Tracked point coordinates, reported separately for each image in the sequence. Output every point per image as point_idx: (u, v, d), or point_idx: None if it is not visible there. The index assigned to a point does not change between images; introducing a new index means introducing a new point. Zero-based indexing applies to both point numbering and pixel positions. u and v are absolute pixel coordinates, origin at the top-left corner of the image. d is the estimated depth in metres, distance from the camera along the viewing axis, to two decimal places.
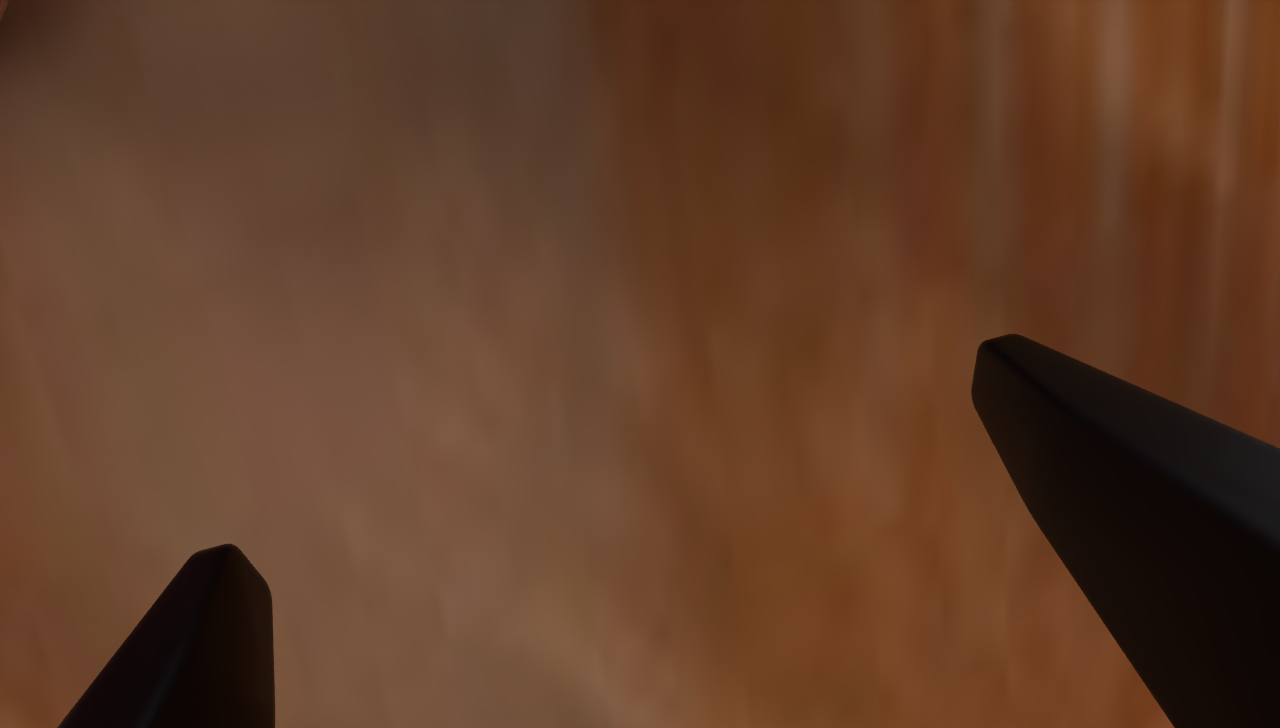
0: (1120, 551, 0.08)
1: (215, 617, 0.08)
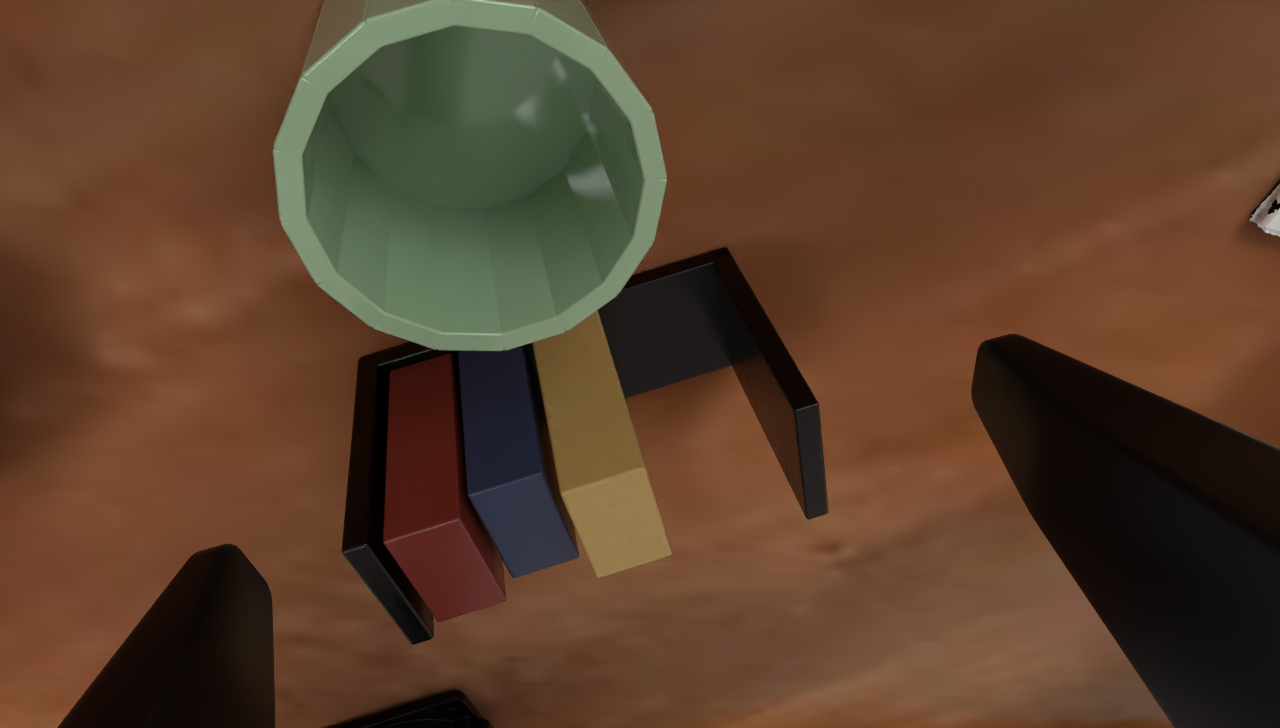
0: (1120, 551, 0.08)
1: (215, 617, 0.08)
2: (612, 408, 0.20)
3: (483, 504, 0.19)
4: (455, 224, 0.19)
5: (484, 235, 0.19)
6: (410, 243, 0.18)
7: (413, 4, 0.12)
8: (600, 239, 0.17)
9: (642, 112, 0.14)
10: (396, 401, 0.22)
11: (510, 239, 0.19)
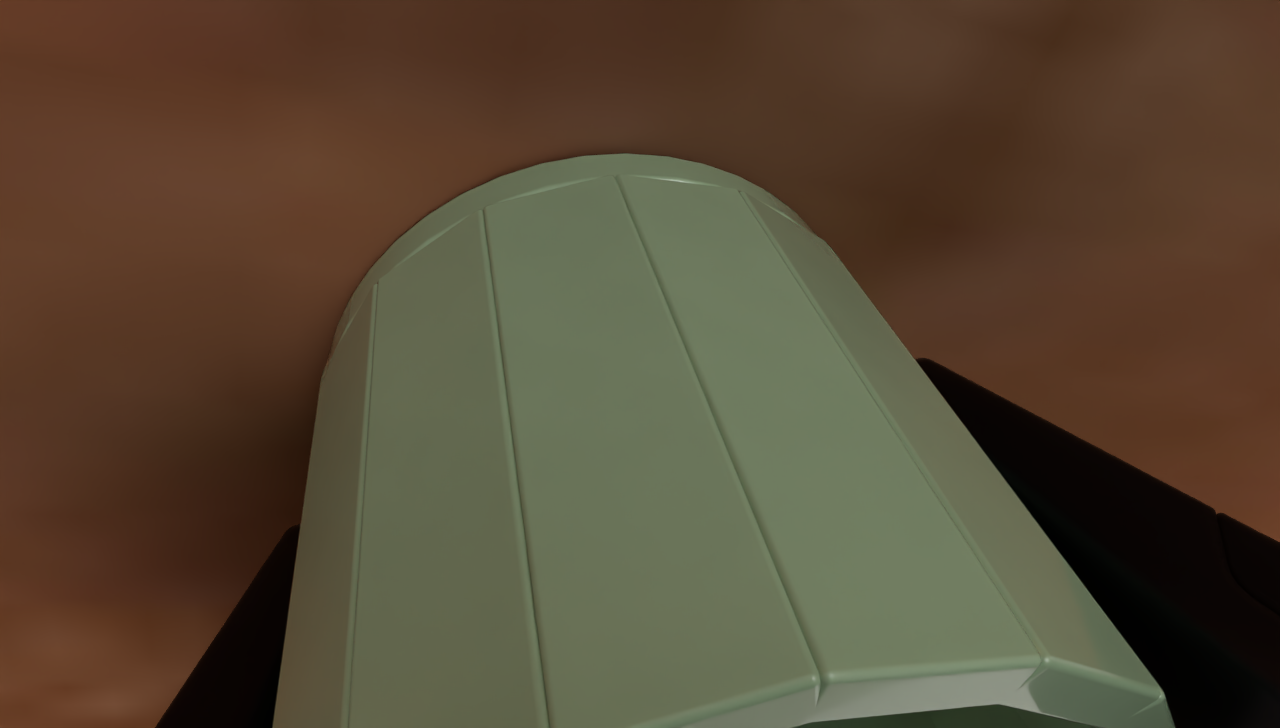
0: None
1: None
2: None
3: None
4: None
5: None
6: None
7: (707, 693, 0.04)
8: None
9: None
10: None
11: None
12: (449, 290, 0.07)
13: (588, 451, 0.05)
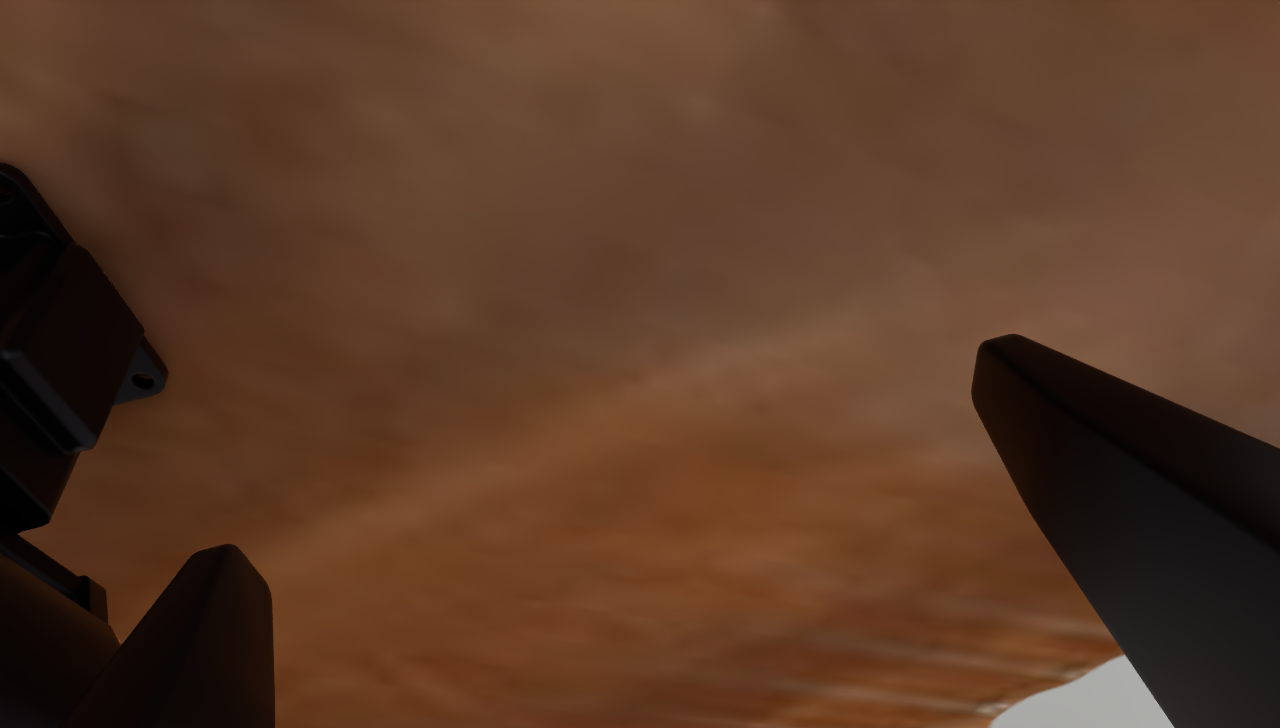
0: (1120, 551, 0.08)
1: (215, 617, 0.08)
2: None
3: None
4: None
5: None
6: None
7: None
8: None
9: None
10: None
11: None
12: None
13: None
